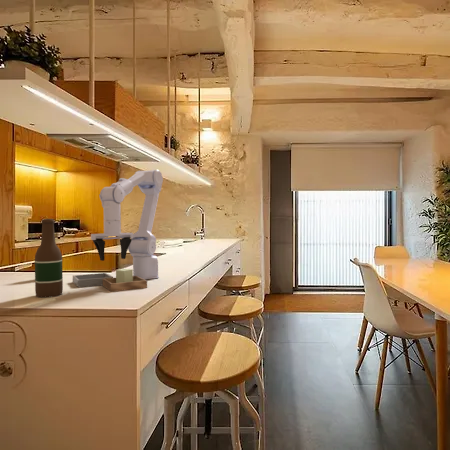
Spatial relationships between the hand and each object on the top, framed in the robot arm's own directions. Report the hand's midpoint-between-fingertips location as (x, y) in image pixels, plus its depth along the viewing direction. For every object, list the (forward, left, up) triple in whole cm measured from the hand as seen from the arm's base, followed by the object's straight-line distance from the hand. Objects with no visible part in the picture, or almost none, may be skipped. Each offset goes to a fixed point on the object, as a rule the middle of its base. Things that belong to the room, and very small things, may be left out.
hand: (112, 259), depth 130 cm
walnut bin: (-3, +3, -10) cm, 10 cm away
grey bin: (+5, -11, -10) cm, 16 cm away
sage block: (-3, +3, -10) cm, 10 cm away
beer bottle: (+21, +4, -10) cm, 23 cm away
